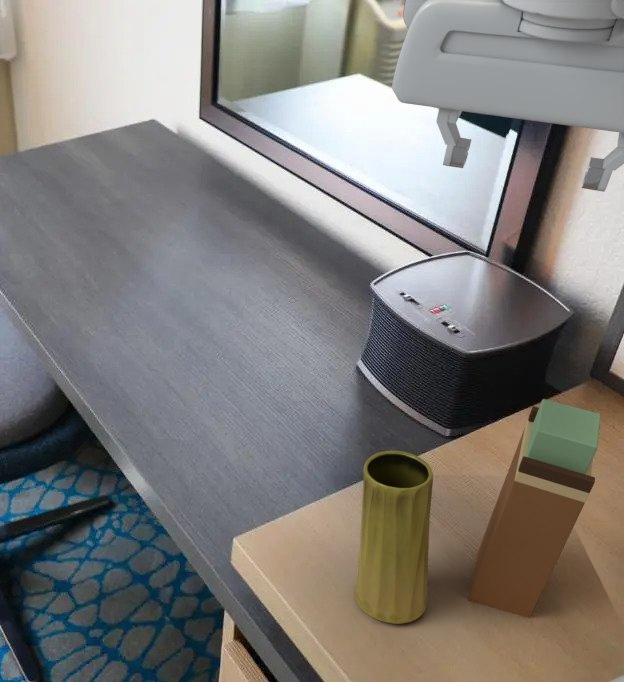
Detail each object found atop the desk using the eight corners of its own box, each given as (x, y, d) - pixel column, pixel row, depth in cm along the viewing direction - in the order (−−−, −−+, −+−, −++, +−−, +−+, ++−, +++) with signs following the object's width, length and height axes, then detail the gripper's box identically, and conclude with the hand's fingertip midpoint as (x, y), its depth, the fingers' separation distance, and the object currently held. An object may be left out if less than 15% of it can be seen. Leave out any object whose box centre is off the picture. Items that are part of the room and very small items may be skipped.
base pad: (525, 627, 67) (595, 482, 56) (465, 605, 69) (522, 460, 58) (534, 569, 72) (600, 423, 61) (478, 549, 74) (532, 405, 63)
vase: (433, 627, 66) (445, 494, 59) (357, 623, 67) (361, 493, 61) (420, 574, 71) (431, 446, 65) (350, 571, 73) (354, 446, 66)
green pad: (583, 478, 58) (598, 447, 56) (525, 460, 59) (536, 430, 58) (587, 444, 61) (601, 413, 59) (531, 428, 62) (542, 398, 60)
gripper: (401, -28, 51) (368, 167, 60) (781, -2, 43) (681, 221, 51) (421, -48, 56) (388, 137, 64) (771, -27, 47) (680, 182, 56)
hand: (521, 175), depth 58 cm, fingers open, 8 cm apart
